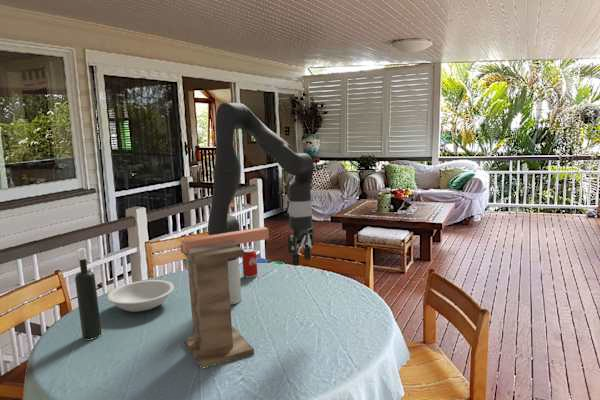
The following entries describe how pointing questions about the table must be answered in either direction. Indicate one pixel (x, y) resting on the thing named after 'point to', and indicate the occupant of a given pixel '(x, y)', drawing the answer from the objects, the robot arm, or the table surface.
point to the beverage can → (249, 263)
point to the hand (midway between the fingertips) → (302, 262)
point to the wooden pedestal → (213, 305)
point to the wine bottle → (87, 299)
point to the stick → (226, 238)
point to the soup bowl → (140, 295)
